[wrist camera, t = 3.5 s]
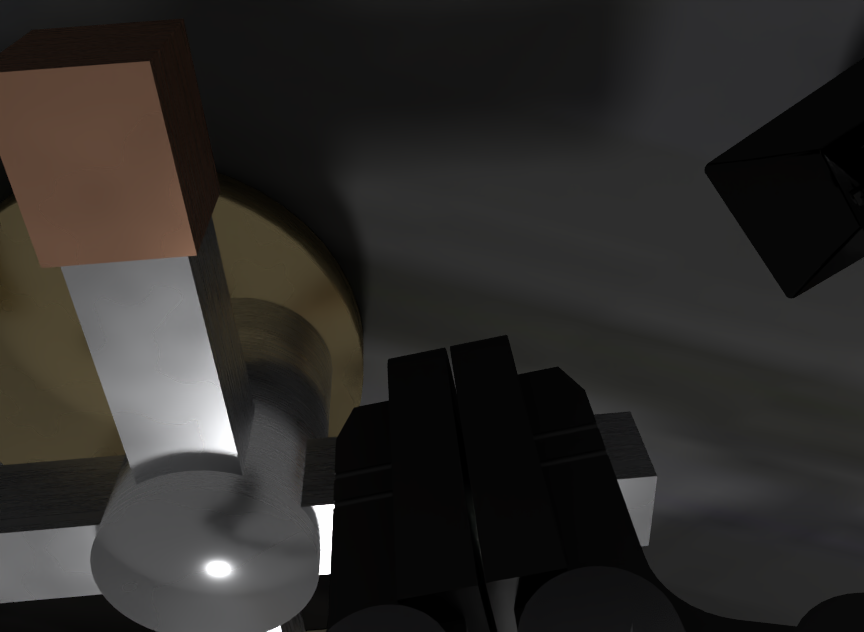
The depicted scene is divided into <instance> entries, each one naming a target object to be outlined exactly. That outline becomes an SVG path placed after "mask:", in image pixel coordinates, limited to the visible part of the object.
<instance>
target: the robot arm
mask: <svg viewBox="0 0 864 632" xmlns="http://www.w3.org/2000/svg"><path fill="white" fill-rule="evenodd" d="M450 351H451V358H452V365H453V371H454V378H455V384H454V380H453V376H452V371H451V367H450V363H449V359H448V355H447V351H446V348H441V349H436V350H431V351H426V352H421V353H416V354H411V355H406V356H401V357H396V358H391V359H388V389H389V401H384V402H379V403H374V404H369V405H364V406H359V407H354V408H353V410H352V412H351V413H350V415H349V417H348V419H347V421H346V422H345V424H344V426H343V428H342V430H341V431H340V433H339V435H338V437H337V439H336V449H335V478H336V480H334V496H333V502H334V509H333V520H332V544H331V567H330V591H329V615H328V624H327V630H326V632H864V593H852V594H845V595H841V596H836V597H833V598H831V599H828V600H826V601H823V602H821V603H820V604H818V605H817V606H815V607H814V608H812V609H811V610H810V611H809V612H808V613H807V614H806V615H805V616H804V617H803V618H802V619H801V621H800V623H799V624H798V626H797V627H796V626H787V625H778V624H770V623H761V622H752V621H744V620H736V619H730V618H725V617H720V616H717V615H714V614H710V613H707V612H704V611H702V610H700V609H698V608H695V607H693V606H691V605H689V604H688V603H686V602H684V601H683V600H681V599H679V598H678V597H677V596H675V595H674V594H673V593H672V592H670V591H669V590H668V589H667V588H666V587H665V586H664V585H663V584H662V583H661V582H660V581H659V580H658V579H657V577H656V576H655V574H654V573H653V572H652V570H651V569H650V567H649V565H648V562H647V560H646V558H645V556H644V553H643V550H642V547H641V545H640V542H639V539H638V536H637V534H636V531H635V528H634V525H633V522H632V520H631V517H630V514H629V511H628V509H627V506H626V503H625V500H624V497H623V495H622V492H621V489H620V486H619V484H618V481H617V478H616V475H615V472H614V470H613V467H612V464H611V461H610V459H609V456H608V455H607V452H606V447H605V445H604V442H603V439H602V436H601V433H600V431H599V428H598V427H597V423H596V420H595V417H594V414H593V411H592V408H591V406H590V403H589V400H588V397H587V395H586V392H585V390H584V389H583V388H582V387H581V386H580V385H578V384H577V383H576V382H575V381H574V380H573V379H572V378H571V377H569V376H568V375H567V374H566V373H565V372H564V371H563V370H561V369H560V368H559V367H554V368H549V369H544V370H539V371H534V372H529V373H524V374H518V375H517V371H516V367H515V363H514V359H513V355H512V351H511V347H510V343H509V340H508V336H507V335H504V336H499V337H494V338H489V339H484V340H479V341H474V342H469V343H464V344H459V345H454V346H450ZM455 385H456V388H455ZM456 391H457V393H456Z"/></svg>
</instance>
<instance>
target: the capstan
mask: <svg viewBox="0 0 864 632" xmlns="http://www.w3.org/2000/svg"><path fill="white" fill-rule="evenodd" d="M0 156H1V159H2V162H3V165H4V167H5V170H6V173H7V176H8V178H9V181H10V184H11V187H12V189H13V192H14V193H13V194H11V195H10V196H9V197H8V198H6V199H5V200H4V201H3V202H2V203H1V204H0V462H1V463H2V464H4V465H0V603H8V602H19V601H31V600H42V599H53V598H64V597H76V596H87V595H98V594H103V596H104V597H105V598H106V599H107V600H108V601H109V602H110V603H111V604H112V606H113V607H114V608H116V609H117V610H118V611H120V612H121V613H122V614H123V615H125V616H126V617H128V618H130V619H131V620H133V621H134V622H136V623H138V624H140V625H142V626H144V627H147V628H149V629H152V630H154V631H157V632H306V631H305V627H304V623H303V618H302V614H301V610H302V609H303V608H304V607H305V606H306V605H307V603H308V602H309V601H310V599H311V598H312V596H313V594H314V592H315V590H316V587H317V584H318V581H319V575H323V574H330V567H331V544H332V520H333V509H334V502H333V496H334V480H336V478H335V449H336V439H337V437H338V435H339V433H340V431H341V430H342V428H343V426H344V424H345V422H346V421H347V419H348V417H349V415H350V413H351V412H352V410H353V408H354V407H359V405H360V402H361V394H362V385H363V327H362V323H361V318H360V313H359V308H358V304H357V302H356V299H355V296H354V294H353V291H352V288H351V286H350V283H349V282H348V280H347V278H346V276H345V274H344V272H343V271H342V269H341V267H340V265H339V263H338V262H337V261H336V259H335V258H334V256H333V255H332V254H331V252H330V251H329V250H328V248H327V247H326V246H325V244H324V243H323V242H322V241H321V240H320V239H319V238H318V237H317V236H316V235H315V234H314V232H313V231H312V230H311V229H310V228H309V227H308V226H307V225H306V224H305V223H304V222H302V221H301V220H300V219H299V218H297V217H296V216H295V215H294V214H292V213H291V212H290V211H289V210H288V209H286V208H285V207H284V206H282V205H281V204H279V203H278V202H276V201H274V200H273V199H271V198H270V197H268V196H267V195H265V194H263V193H262V192H260V191H258V190H256V189H254V188H252V187H250V186H248V185H246V184H244V183H242V182H240V181H238V180H235V179H233V178H231V177H228V176H225V175H222V174H219V173H217V172H216V168H215V163H214V158H213V154H212V149H211V144H210V140H209V135H208V130H207V126H206V121H205V116H204V112H203V107H202V103H201V98H200V93H199V89H198V84H197V79H196V75H195V70H194V65H193V61H192V56H191V51H190V47H189V42H188V37H187V33H186V28H185V23H184V19H173V20H159V21H146V22H133V23H119V24H106V25H92V26H79V27H66V28H52V29H39V30H31V31H30V32H29V33H27V34H26V35H25V36H23V37H22V38H20V39H19V40H18V41H16V42H15V43H14V44H12V45H11V46H9V47H8V48H7V49H5V50H4V51H3V52H1V53H0ZM594 417H595V420H596V423H597V427H598V428H599V431H600V433H601V436H602V439H603V442H604V445H605V447H606V452H607V455H608V456H609V459H610V461H611V464H612V467H613V470H614V472H615V475H616V478H617V481H618V484H619V486H620V489H621V492H622V495H623V497H624V500H625V503H626V506H627V509H628V511H629V514H630V517H631V520H632V522H633V525H634V528H635V531H636V534H637V536H638V539H639V542H640V545H641V546H648V545H649V538H650V530H651V522H652V514H653V506H654V498H655V490H656V482H657V474H656V472H655V470H654V467H653V465H652V462H651V460H650V458H649V455H648V453H647V450H646V448H645V446H644V443H643V441H642V438H641V436H640V433H639V431H638V429H637V426H636V424H635V421H634V419H633V417H632V414H631V412H618V413H607V414H595V415H594Z"/></svg>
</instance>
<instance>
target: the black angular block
mask: <svg viewBox="0 0 864 632" xmlns="http://www.w3.org/2000/svg"><path fill="white" fill-rule="evenodd" d="M705 173H706V175H707V176H708V178H709V179H710V181H711V182H712V184H713V185H714V187H715V188H716V190H717V191H718V193H719V195H720V196H721V198H722V199H723V201H724V202H725V204H726V205H727V207H728V208H729V210H730V211H731V213H732V214H733V216H734V217H735V219H736V220H737V222H738V223H739V225H740V226H741V228H742V229H743V231H744V232H745V234H746V235H747V237H748V239H749V240H750V242H751V243H752V245H753V246H754V248H755V249H756V251H757V252H758V254H759V255H760V257H761V258H762V260H763V261H764V263H765V264H766V266H767V267H768V269H769V270H770V272H771V273H772V275H773V276H774V278H775V280H776V281H777V283H778V284H779V286H780V287H781V289H782V290H783V292H784V293H785V295H786V296H787V297H788V298H795V297H797V296H798V295H800V294H802V293H803V292H805V291H807V290H809V289H810V288H812V287H814V286H815V285H817V284H819V283H820V282H822V281H824V280H826V279H827V278H829V277H831V276H832V275H834V274H836V273H837V272H839V271H841V270H843V269H844V268H846V267H848V266H849V265H851V264H853V263H855V262H856V261H858V260H860V259H861V258H863V257H864V58H863V59H862V60H860V61H859V62H857V63H856V64H854V65H853V66H851V67H850V68H848V69H847V70H845V71H844V72H842V73H841V74H839V75H838V76H837V77H835V78H834V79H832V80H831V81H829V82H828V83H826V84H825V85H823V86H822V87H820V88H819V89H817V90H816V91H814V92H813V93H811V94H810V95H808V96H807V97H805V98H804V99H802V100H801V101H800V102H798V103H797V104H795V105H794V106H792V107H791V108H789V109H788V110H786V111H785V112H783V113H782V114H780V115H779V116H777V117H776V118H774V119H773V120H771V121H770V122H768V123H767V124H765V125H764V126H763V127H761V128H760V129H758V130H757V131H755V132H754V133H752V134H751V135H749V136H748V137H746V138H745V139H743V140H742V141H740V142H739V143H737V144H736V145H734V146H733V147H731V148H730V149H729V150H727V151H726V152H724V153H723V154H721V155H720V156H718V157H717V158H715V159H714V160H712V161H711V162H709V163H708V164H707V165H706V167H705Z"/></svg>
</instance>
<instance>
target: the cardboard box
mask: <svg viewBox="0 0 864 632" xmlns="http://www.w3.org/2000/svg"><path fill="white" fill-rule="evenodd" d="M326 630H327V629H325V630H314V631H306V632H326Z"/></svg>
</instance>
